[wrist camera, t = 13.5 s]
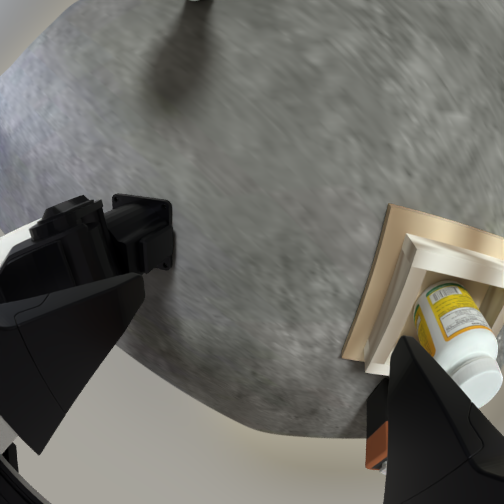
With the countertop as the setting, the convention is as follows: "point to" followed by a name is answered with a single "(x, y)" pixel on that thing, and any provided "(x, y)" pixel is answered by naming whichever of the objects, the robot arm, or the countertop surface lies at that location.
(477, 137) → the countertop surface
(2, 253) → the can
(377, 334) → the base
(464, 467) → the robot arm
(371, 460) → the battery
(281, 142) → the countertop surface
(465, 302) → the supplement bottle
